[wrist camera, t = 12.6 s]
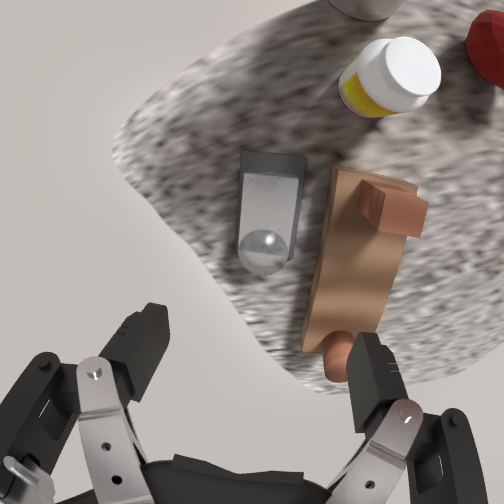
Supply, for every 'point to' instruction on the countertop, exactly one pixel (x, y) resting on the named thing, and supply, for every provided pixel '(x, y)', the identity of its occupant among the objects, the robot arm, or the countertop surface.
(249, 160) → the rubber mat
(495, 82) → the apple
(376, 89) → the supplement bottle
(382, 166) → the countertop surface
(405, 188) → the plane body
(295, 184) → the lever cap
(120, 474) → the robot arm
